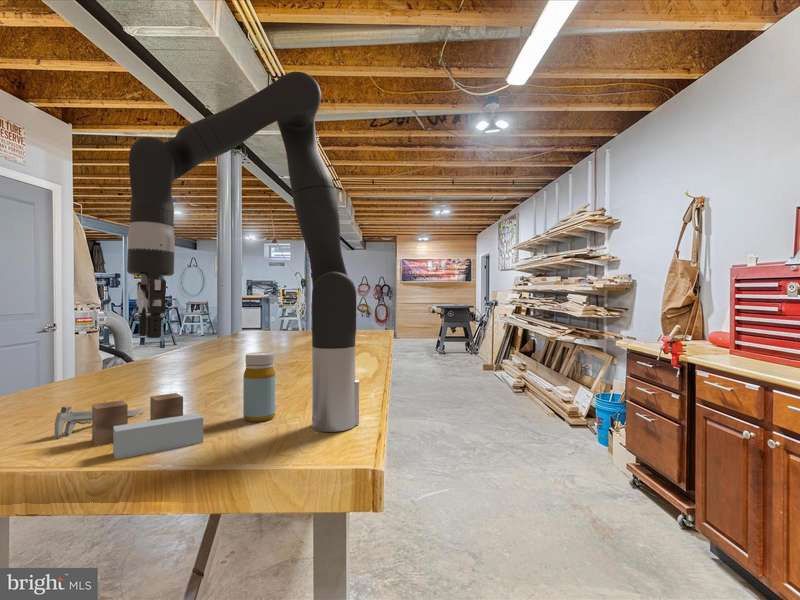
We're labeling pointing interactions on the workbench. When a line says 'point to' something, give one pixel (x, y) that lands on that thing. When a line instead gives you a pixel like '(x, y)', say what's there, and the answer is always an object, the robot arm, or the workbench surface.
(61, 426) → the caliper
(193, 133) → the robot arm
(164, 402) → the pillar
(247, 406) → the bottle
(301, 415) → the workbench surface
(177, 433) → the lintel
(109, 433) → the pillar
